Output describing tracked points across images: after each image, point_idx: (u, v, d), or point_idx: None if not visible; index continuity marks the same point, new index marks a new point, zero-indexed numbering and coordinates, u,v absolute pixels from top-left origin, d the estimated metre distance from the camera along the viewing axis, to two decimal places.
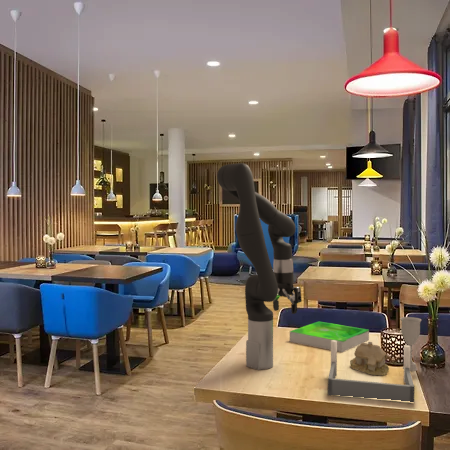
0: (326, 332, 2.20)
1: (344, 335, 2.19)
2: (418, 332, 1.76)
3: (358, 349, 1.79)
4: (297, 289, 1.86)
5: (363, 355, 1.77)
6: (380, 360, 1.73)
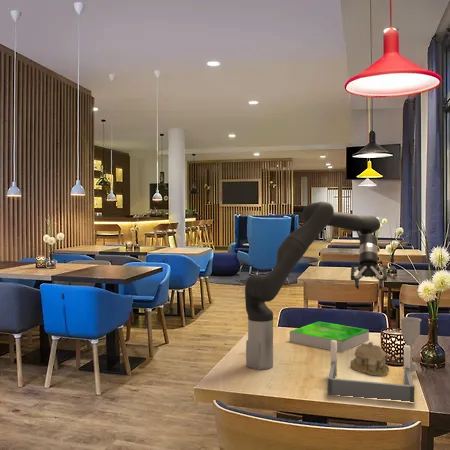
0: (326, 332, 2.20)
1: (344, 335, 2.19)
2: (418, 332, 1.76)
3: (358, 349, 1.78)
4: None
5: (363, 355, 1.76)
6: (381, 360, 1.73)
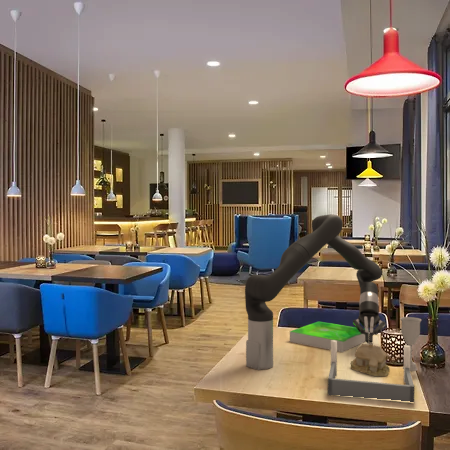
0: (326, 332, 2.20)
1: (344, 335, 2.19)
2: (418, 332, 1.76)
3: (359, 350, 1.78)
4: (384, 324, 1.96)
5: (364, 356, 1.75)
6: (382, 361, 1.72)
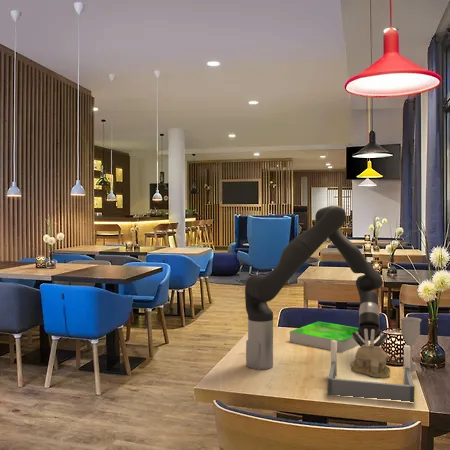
0: (326, 332, 2.20)
1: (344, 335, 2.19)
2: (418, 332, 1.76)
3: (359, 351, 1.76)
4: (385, 337, 1.84)
5: (365, 357, 1.74)
6: (383, 362, 1.71)
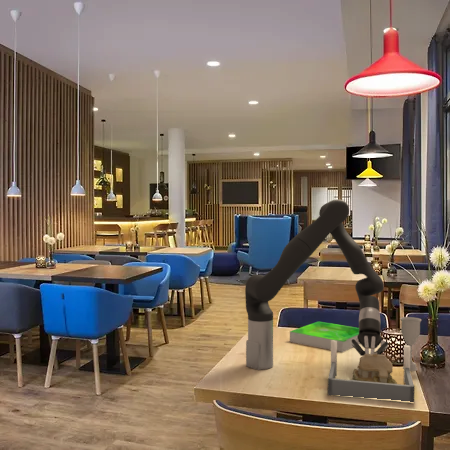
0: (326, 332, 2.20)
1: (344, 335, 2.19)
2: (418, 332, 1.76)
3: (364, 361, 1.64)
4: (387, 345, 1.73)
5: (371, 367, 1.63)
6: (391, 370, 1.62)
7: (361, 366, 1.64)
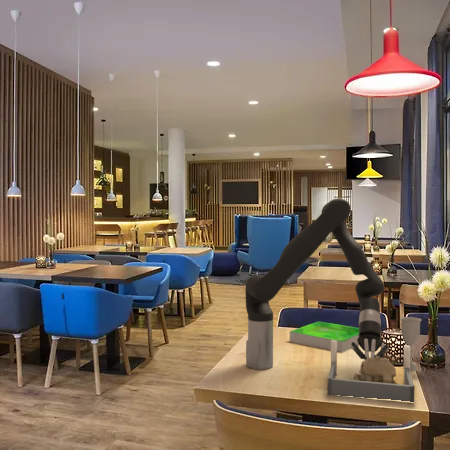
0: (326, 332, 2.20)
1: (344, 335, 2.19)
2: (418, 332, 1.76)
3: (367, 366, 1.60)
4: (387, 348, 1.69)
5: (375, 371, 1.59)
6: (394, 374, 1.58)
7: (364, 371, 1.59)
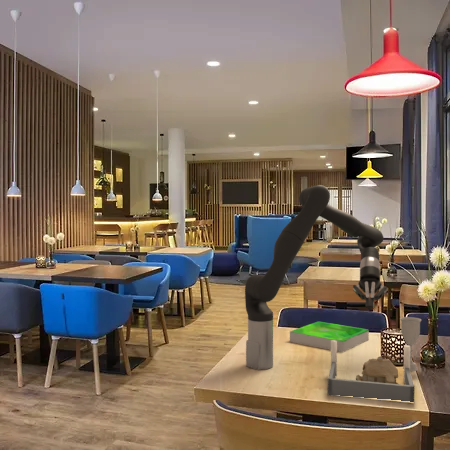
0: (326, 332, 2.20)
1: (344, 335, 2.19)
2: (418, 332, 1.76)
3: (369, 367, 1.59)
4: (386, 289, 1.86)
5: (377, 373, 1.57)
6: (397, 375, 1.57)
7: (367, 372, 1.58)
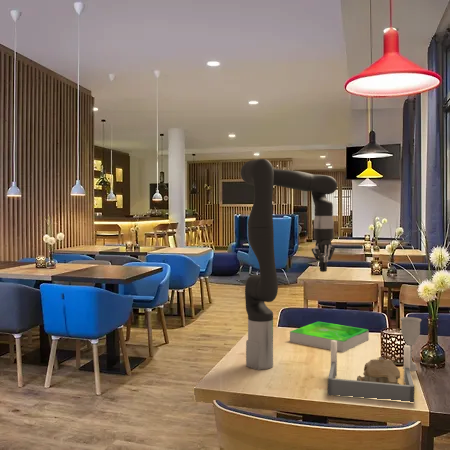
0: (326, 332, 2.20)
1: (344, 335, 2.19)
2: (418, 332, 1.76)
3: (371, 368, 1.58)
4: None
5: (379, 373, 1.57)
6: (399, 375, 1.57)
7: (369, 373, 1.57)
